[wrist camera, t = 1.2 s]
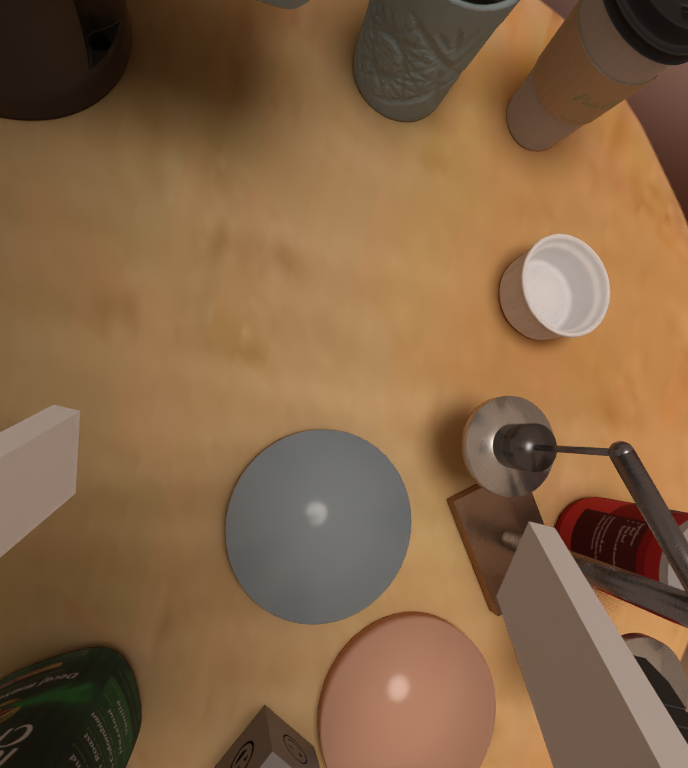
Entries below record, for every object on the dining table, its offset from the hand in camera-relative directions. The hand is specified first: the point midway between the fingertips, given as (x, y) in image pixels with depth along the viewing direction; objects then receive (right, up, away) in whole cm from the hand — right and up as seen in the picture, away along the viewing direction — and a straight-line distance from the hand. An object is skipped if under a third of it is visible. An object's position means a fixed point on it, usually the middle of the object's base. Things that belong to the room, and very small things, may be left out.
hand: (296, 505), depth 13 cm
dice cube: (-4, -23, +20) cm, 31 cm away
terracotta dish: (+6, -22, +22) cm, 32 cm away
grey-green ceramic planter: (+6, +31, +28) cm, 42 cm away
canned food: (+23, -11, +28) cm, 38 cm away
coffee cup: (+19, +29, +31) cm, 47 cm away
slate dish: (-1, -7, +22) cm, 23 cm away
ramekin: (+19, +11, +29) cm, 37 cm away
